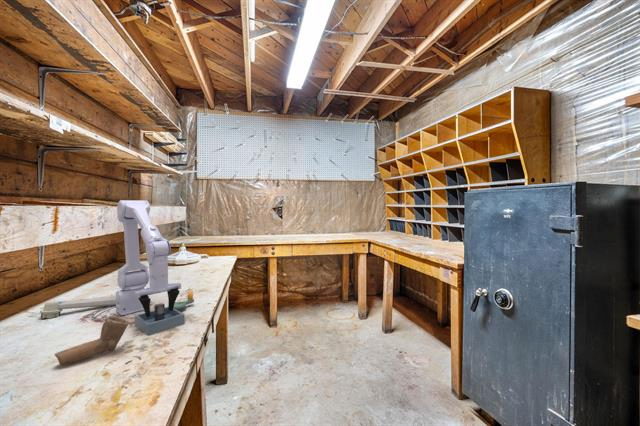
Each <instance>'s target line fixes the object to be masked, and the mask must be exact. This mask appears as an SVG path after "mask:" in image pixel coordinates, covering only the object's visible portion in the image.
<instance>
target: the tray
mask: <svg viewBox="0 0 640 426" xmlns="http://www.w3.org/2000/svg"><path fill="white" fill-rule="evenodd" d="M185 324H186V323H185V313H183V311H182V312H180V311H178V310H176V309H174V308H173V311H170V310H169V307H168V306H165V319H163V320H159V321H156V322H155V318H154V310H150V317H147V316H146V315H145V312H143V313H139V314H134V326H135V327H136V328H137V329H139V330H140V331H142V332H143V333H144V334H145V335H147V336H150V335H153V334H157V333H160V332H163V331H166V330H170V329H173V328H176V327H178V326H179V327H180V326H182V325H185Z"/></svg>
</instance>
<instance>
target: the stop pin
mask: <svg viewBox="0 0 640 426" xmlns="http://www.w3.org/2000/svg"><path fill="white" fill-rule="evenodd" d="M153 307H154V309H153V311H154V318H155V322H156V321H159V320H163V319H165V307H166V306H165V303H156V304H154V305H153Z"/></svg>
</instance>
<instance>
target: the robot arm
mask: <svg viewBox="0 0 640 426" xmlns="http://www.w3.org/2000/svg"><path fill="white" fill-rule="evenodd" d="M116 211H117V212H116V213H117V220H118V222H120V223H122V226H123V238H124V251H125V253H124V254H125V255H124V256H125V264H124V265H122V266H121V267H120V268H119V269H118V270H117V286H118V287H119V289H120V290H117V291H116V293H115V296H116V305H115V311H116V313H118V314H119V315H120V316H126V315H130V314H134V313H138V312H141V311H144V313H145V315H146V316H147V317H150V311H151V308H150V307H151V298H150V296H151V295H156V294H159V293H160V294H161V293H165V292H167V293H166V294H167V298H168V304H167V305H168V306H167V307H169V310H170V311H173V308H174V304H175V302H177V298H178V297H179V295H180V290H181V289H182V283H181V282H173V283H169V265H168V264H169V260H168V257H169V256H170V255H171V252H172V248H171V243H170V241H169V240H168V239H166V238H163V236H162V234H161V233H160V231H159V228H158V226H156V225H153V224H152V221H151V217H150V216H149V215H150V212H151V205H150V202H149V201H148V200H147V199H144V200H137V199H136V200H133V199H132V200H129V199H127V200H123V199H120V200H119V201H118V203H117V206H116ZM139 228H141V230H140V236H141V238H142V240H143V242H144V244H145V254H146V259H147V263H148V266H149V270H148V266H147V265H145V264H144V263H142V262H141V255H140V254H141V253H140V241H139V237H140V236H139ZM148 283H149V287H147V284H148ZM146 287H147V288H146Z"/></svg>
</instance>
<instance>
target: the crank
mask: <svg viewBox="0 0 640 426" xmlns="http://www.w3.org/2000/svg"><path fill="white" fill-rule="evenodd" d="M192 303H193V304H194V303H195V299H194V291H193V290H188V291H187V299H186V300H183V301H175V304H174V309H176V310H179V309H182V308H184V309H185V308H186V306H187V305H188V306H189V305H190V304H192Z"/></svg>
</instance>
